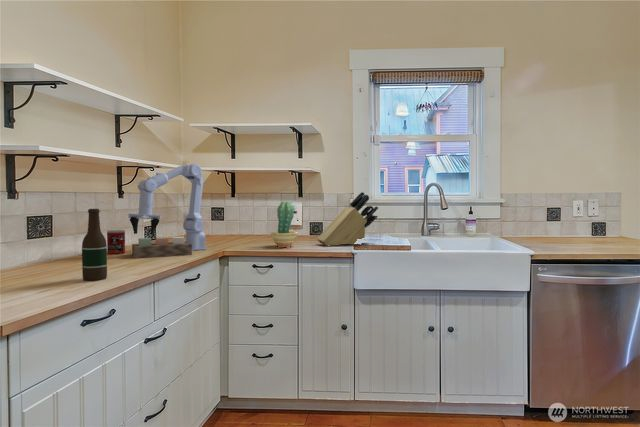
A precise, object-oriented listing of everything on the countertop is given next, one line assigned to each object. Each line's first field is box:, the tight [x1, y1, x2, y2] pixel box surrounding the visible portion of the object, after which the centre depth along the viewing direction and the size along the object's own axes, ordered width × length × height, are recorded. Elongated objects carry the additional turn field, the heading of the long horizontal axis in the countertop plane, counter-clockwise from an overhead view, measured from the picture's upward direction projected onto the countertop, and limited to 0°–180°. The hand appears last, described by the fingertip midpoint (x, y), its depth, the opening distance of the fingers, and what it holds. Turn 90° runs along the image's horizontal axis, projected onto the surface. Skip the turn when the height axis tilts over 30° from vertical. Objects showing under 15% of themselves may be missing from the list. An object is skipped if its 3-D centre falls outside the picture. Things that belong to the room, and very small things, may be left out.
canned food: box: [106, 229, 126, 255], centre depth 200 cm, size 8×8×11 cm
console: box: [131, 240, 193, 259], centre depth 197 cm, size 25×13×5 cm, turn 118°
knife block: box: [316, 191, 379, 246], centre depth 241 cm, size 11×35×31 cm, turn 112°
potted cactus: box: [270, 201, 299, 248], centre depth 228 cm, size 15×15×25 cm
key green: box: [138, 237, 152, 246], centre depth 193 cm, size 5×5×4 cm
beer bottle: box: [81, 208, 108, 282], centre depth 141 cm, size 8×8×24 cm
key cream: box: [171, 236, 186, 244], centre depth 200 cm, size 5×5×4 cm
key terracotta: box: [155, 236, 169, 245], centre depth 197 cm, size 5×5×4 cm
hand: (143, 234), depth 194 cm, fingers open, 7 cm apart
